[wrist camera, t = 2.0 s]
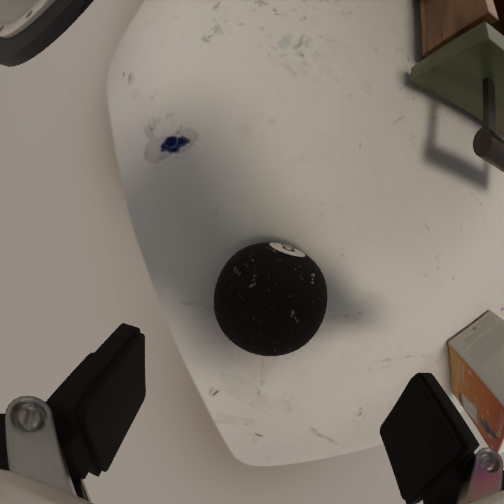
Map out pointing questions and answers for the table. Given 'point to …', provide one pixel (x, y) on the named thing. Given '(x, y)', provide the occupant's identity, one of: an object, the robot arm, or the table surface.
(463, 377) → the small box
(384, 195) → the table surface
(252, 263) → the billiard ball
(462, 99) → the drawer
